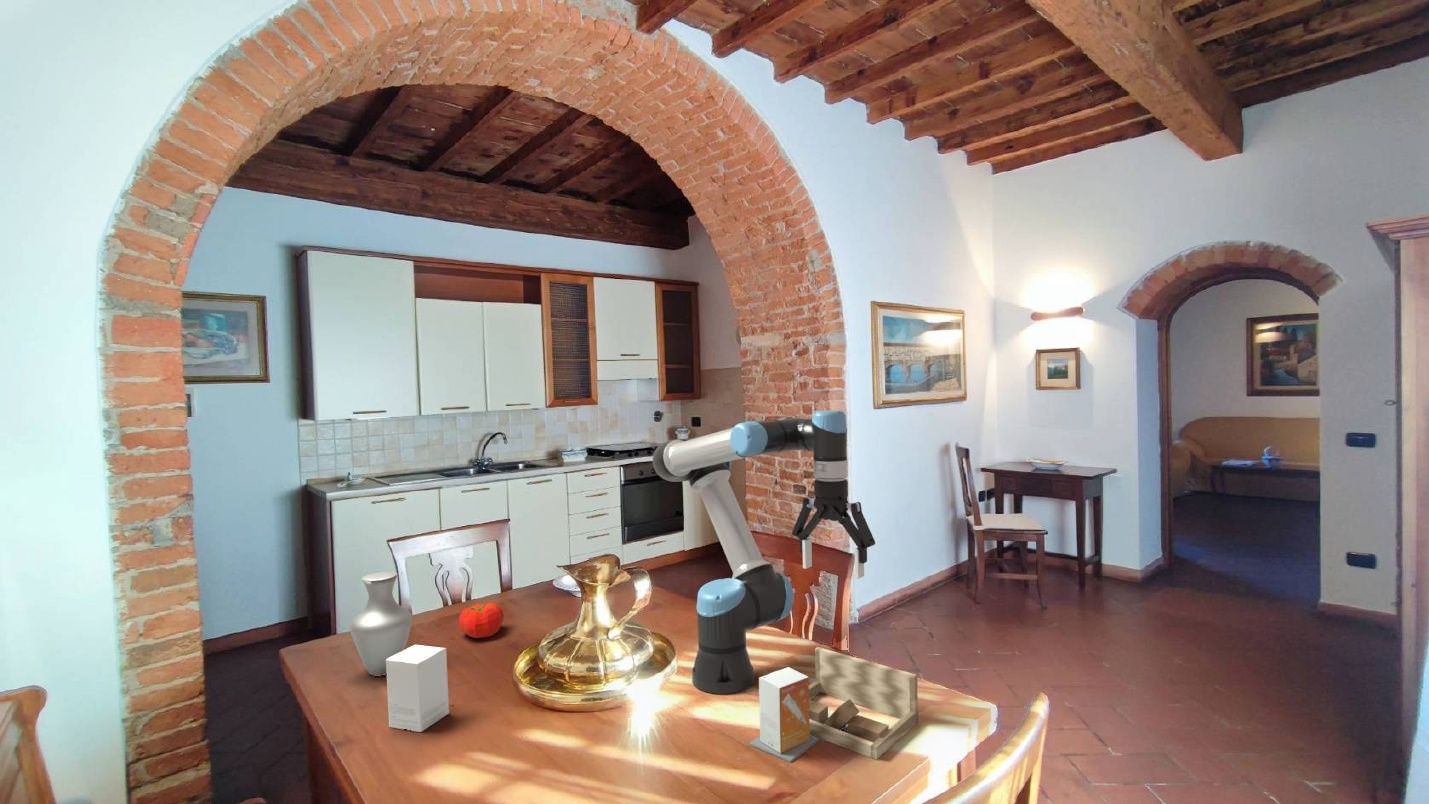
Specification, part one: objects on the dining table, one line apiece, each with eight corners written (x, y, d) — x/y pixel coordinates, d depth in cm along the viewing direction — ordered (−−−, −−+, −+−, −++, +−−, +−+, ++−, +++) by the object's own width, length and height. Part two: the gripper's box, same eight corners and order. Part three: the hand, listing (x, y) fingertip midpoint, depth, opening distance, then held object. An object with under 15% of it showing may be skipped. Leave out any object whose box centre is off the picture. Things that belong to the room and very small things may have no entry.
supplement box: (450, 713, 150) (448, 647, 150) (421, 733, 141) (418, 663, 141) (418, 708, 153) (415, 643, 152) (387, 727, 144) (384, 658, 144)
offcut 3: (847, 739, 135) (847, 722, 135) (857, 731, 138) (857, 714, 138) (879, 751, 130) (879, 733, 130) (889, 742, 133) (888, 725, 133)
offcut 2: (833, 735, 136) (823, 722, 138) (843, 727, 139) (833, 715, 141) (849, 719, 133) (839, 706, 135) (859, 711, 136) (849, 698, 138)
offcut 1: (790, 720, 143) (789, 704, 143) (799, 712, 146) (799, 696, 146) (818, 729, 139) (818, 713, 139) (828, 721, 142) (827, 705, 142)
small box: (780, 755, 129) (779, 688, 128) (759, 741, 134) (757, 677, 134) (811, 740, 134) (809, 676, 133) (789, 728, 139) (787, 666, 138)
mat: (749, 745, 133) (749, 743, 133) (778, 724, 141) (778, 723, 141) (790, 762, 127) (790, 760, 127) (819, 740, 134) (819, 738, 134)
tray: (772, 719, 143) (771, 673, 143) (818, 689, 157) (817, 646, 156) (876, 759, 127) (875, 707, 127) (918, 721, 141) (917, 674, 140)
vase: (339, 679, 170) (334, 581, 169) (386, 657, 183) (382, 566, 182) (381, 687, 164) (376, 586, 163) (426, 664, 177) (422, 570, 177)
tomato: (472, 626, 205) (471, 597, 205) (511, 627, 203) (510, 598, 203) (448, 643, 191) (447, 613, 191) (490, 645, 190) (488, 614, 189)
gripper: (776, 476, 156) (778, 566, 157) (872, 485, 140) (875, 586, 141) (794, 473, 162) (796, 560, 163) (889, 480, 146) (891, 577, 146)
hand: (832, 572), depth 152 cm, fingers open, 13 cm apart
